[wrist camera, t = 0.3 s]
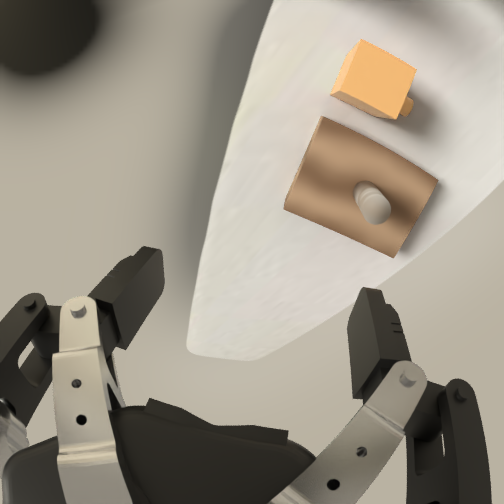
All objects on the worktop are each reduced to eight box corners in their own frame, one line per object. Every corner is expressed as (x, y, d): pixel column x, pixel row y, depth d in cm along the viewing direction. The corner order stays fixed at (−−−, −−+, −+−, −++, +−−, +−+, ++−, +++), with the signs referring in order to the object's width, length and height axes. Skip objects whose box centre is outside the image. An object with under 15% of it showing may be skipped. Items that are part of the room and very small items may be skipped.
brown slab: (321, 115, 31) (328, 118, 22) (426, 172, 32) (460, 195, 23) (285, 198, 37) (279, 229, 28) (386, 244, 38) (406, 284, 29)
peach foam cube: (329, 95, 30) (339, 90, 22) (346, 55, 27) (361, 38, 19) (393, 127, 30) (421, 135, 22) (409, 88, 27) (441, 86, 19)
